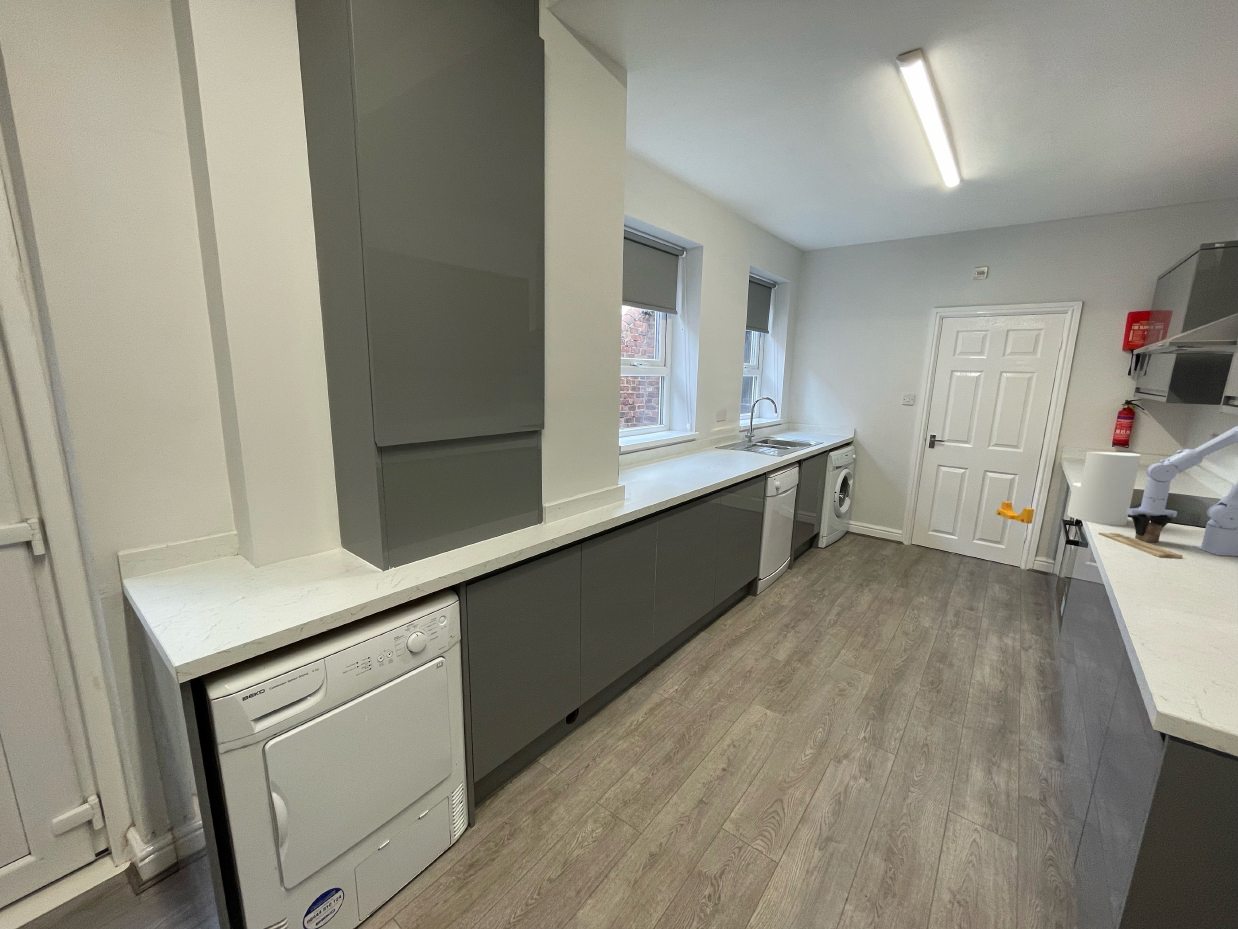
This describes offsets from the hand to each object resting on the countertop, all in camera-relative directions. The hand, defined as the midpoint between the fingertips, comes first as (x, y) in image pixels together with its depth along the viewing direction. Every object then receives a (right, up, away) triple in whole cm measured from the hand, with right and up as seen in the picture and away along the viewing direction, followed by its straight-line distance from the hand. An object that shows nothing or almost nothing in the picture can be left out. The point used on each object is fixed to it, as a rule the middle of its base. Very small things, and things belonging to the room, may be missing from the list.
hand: (1146, 535), depth 172 cm
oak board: (-8, -3, -5) cm, 10 cm away
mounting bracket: (-28, +2, +23) cm, 37 cm away
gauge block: (0, -2, 0) cm, 2 cm away
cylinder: (+7, +2, +26) cm, 27 cm away
